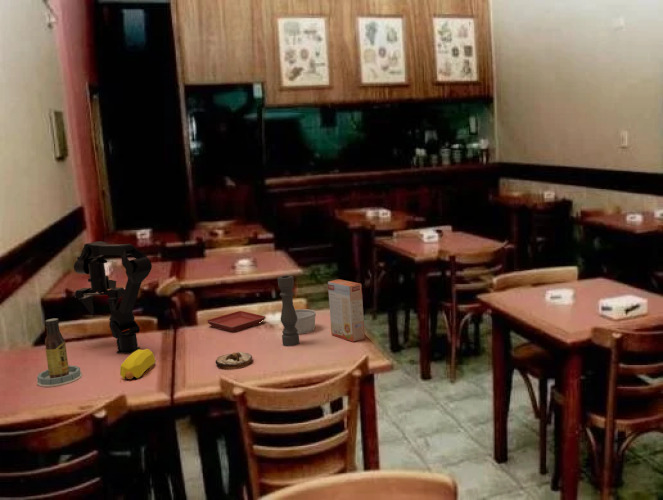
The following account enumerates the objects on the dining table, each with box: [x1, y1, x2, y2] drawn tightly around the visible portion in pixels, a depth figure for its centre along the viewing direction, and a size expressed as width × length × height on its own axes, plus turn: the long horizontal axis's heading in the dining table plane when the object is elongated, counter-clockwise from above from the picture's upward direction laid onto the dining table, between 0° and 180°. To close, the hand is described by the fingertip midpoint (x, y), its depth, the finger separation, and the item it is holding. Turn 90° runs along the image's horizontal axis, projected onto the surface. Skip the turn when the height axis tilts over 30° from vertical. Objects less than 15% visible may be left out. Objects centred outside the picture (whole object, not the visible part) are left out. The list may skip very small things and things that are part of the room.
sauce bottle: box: [44, 317, 69, 378], centre depth 214 cm, size 6×6×20 cm
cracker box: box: [327, 279, 366, 343], centre depth 237 cm, size 14×6×21 cm, turn 34°
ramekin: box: [295, 308, 317, 335], centre depth 252 cm, size 13×13×7 cm
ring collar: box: [36, 365, 83, 388], centre depth 215 cm, size 14×14×2 cm
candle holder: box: [277, 274, 300, 347], centre depth 234 cm, size 6×6×25 cm
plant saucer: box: [206, 310, 267, 333], centre depth 267 cm, size 18×18×3 cm
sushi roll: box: [215, 351, 253, 371], centre depth 218 cm, size 15×15×4 cm
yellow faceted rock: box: [119, 348, 157, 380], centre depth 216 cm, size 18×7×8 cm
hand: (102, 314), depth 247 cm, fingers open, 9 cm apart
